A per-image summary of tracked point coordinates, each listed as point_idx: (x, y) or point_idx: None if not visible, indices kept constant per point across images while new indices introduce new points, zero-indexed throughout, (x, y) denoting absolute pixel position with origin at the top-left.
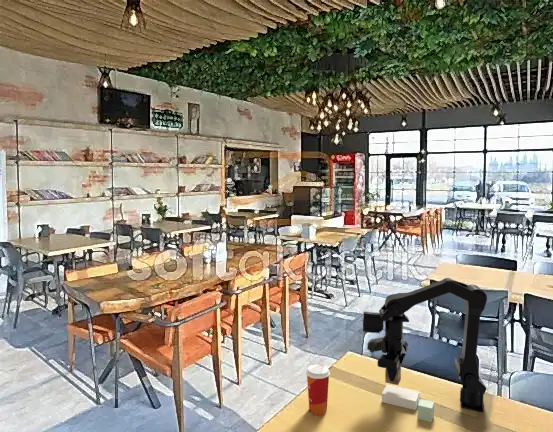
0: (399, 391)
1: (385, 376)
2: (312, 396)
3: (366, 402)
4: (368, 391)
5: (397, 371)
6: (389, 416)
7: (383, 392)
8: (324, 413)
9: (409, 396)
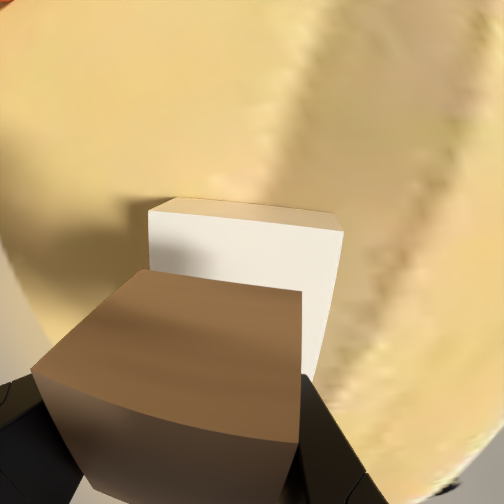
0: None
1: (98, 306)
2: None
3: (133, 102)
4: (298, 72)
5: (72, 490)
6: (65, 263)
7: (169, 221)
8: (7, 1)
9: None
